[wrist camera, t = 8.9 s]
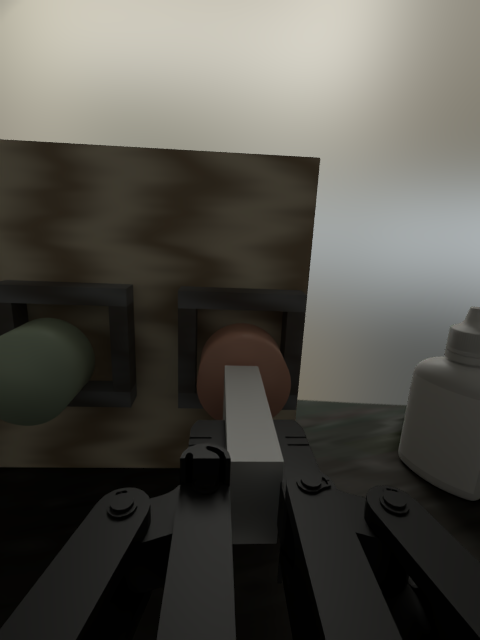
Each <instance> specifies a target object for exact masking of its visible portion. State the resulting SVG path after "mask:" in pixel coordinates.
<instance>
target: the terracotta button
mask: <svg viewBox="0 0 480 640" xmlns="http://www.w3.org/2000/svg"><path fill="white" fill-rule="evenodd" d="M225 365H230V366H258V367H259V371H260V375H261V378H262V382H263V386H264V389H265V393H266V397H267V401H268V404H269V408H270V412H271V415H272V418H273V417H275V416H276V415H277V414H278V413H279V412H280V411H281V410H282V408H283V407H284V405H285V404H286V402H287V400H288V397H289V394H290V389H291V377H290V373H289V370H288V367H287V365H286V363H285V361H284V358H283V356H282V354H281V352H280V350H279V347H278V345H277V343H276V342H275V340H274V339H273V337H272V336H271V335H270V334H269V333H268V332H266V331H265V330H264V329H262V328H260V327H258V326H255V325H252V324H246V323H236V324H231V325H228V326H225V327H223V328H221V329H219V330H217V331H216V332H215V333H214V334H213V335H212V336H211V337H210V338H209V339H208V340H207V342H206V343H205V345H204V347H203V350H202V354H201V359H200V365H199V371H198V377H197V393H198V397H199V400H200V403H201V404H202V406H203V408H204V409H205V411H206V412H207V413H208V414H209V415H210V416H211V417H212V418H214V419H215V420H223V400H224V371H225Z"/></svg>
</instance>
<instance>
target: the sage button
mask: <svg viewBox="0 0 480 640" xmlns="http://www.w3.org/2000/svg"><path fill="white" fill-rule="evenodd" d="M94 367H95V355H94V351H93V348H92V345H91V343H90V342H89V340H88V338H87V337H86V336H85V335H84V334H83V333H82V332H81V331H80V330H79V329H78V328H77V327H75V326H74V325H72V324H70V323H68V322H66V321H63V320H60V319H56V318H39V319H35V320H32V321H30V322H27V323H25V324H23V325H21V326H19V327H17V328H15V329H13V330H11V331H9V332H7V333H5V334H3V335H1V336H0V419H1V420H3V421H5V422H8V423H11V424H15V425H22V426H33V425H39V424H43V423H46V422H48V421H50V420H52V419H54V418H55V417H57V416H58V415H59V414H60V413H61V412H62V411H63V410H64V409H65V408H66V407H67V405H68V404H69V403H70V402H71V401H72V400H73V398H74V397H75V396H76V395H77V394H78V393H79V392H80V390H81V389H82V388H83V387H84V386H85V385H86V383H87V382H88V381H89V380H90V378H91V376H92V374H93V371H94Z"/></svg>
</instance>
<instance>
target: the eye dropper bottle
mask: <svg viewBox="0 0 480 640" xmlns="http://www.w3.org/2000/svg"><path fill="white" fill-rule="evenodd" d="M444 355H445V356H446V357H431V358H428V359H425V360H423V361H421V362H419V363H418V364H417V365H416V367H415V370H414V373H413V377H412V382H411V387H410V392H409V397H408V403H407V407H406V413H405V418H404V423H403V429H402V434H401V440H400V445H399V451H398V453H399V456H400V459H401V460H402V461H403V462H404V463H405V464H406V465H407V466H408V467H409V468H410V469H411V470H412V471H413V472H415V473H416V474H417V475H419V476H420V477H421V478H423V479H424V480H426V481H427V482H429V483H431V484H432V485H434V486H436V487H438V488H440V489H442V490H444V491H446V492H448V493H450V494H453V495H455V496H458V497H460V498H463V499H466V500H471V501H475V500H479V499H480V307H471V308H470V310H469V312H468V314H467V316H466V318H465V320H464V321H463V322H462V323H459V324H455V325H452V326H450V330H449V335H448V340H447V344H446V349H445V354H444Z"/></svg>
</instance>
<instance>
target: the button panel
mask: <svg viewBox="0 0 480 640" xmlns="http://www.w3.org/2000/svg"><path fill="white" fill-rule="evenodd" d="M319 165H320V158H313V157H297V156H296V157H295V156H279V155H261V154H244V153H227V152H210V151H193V150H175V149H158V148H140V147H122V146H106V145H87V144H70V143H53V142H36V141H18V140H1V139H0V336H1V335H3V334H5V333H7V332H9V331H11V330H13V329H15V328H17V327H19V326H21V325H23V324H25V323H27V322H30V321H32V320H35V319H39V318H56V319H60V320H63V321H66V322H68V323H70V324H72V325H74V326H75V327H77V328H78V329H79V330H80V331H81V332H82V333H83V334H84V335H85V336H86V337H87V338H88V340H89V342H90V343H91V345H92V348H93V351H94V355H95V367H94V371H93V374H92V376H91V378H90V380H89V381H88V382H87V383H86V385H85V386H84V387H83V388H82V389H81V390H80V392H79V393H78V394H77V395H76V396H75V397H74V398H73V400H72V401H71V402H70V403H69V404H68V405H67V407H66V408H65V409H64V410H63V411H62V412H61V413H60V414H59V415H58V416H57V417H55V418H54V419H52V420H50V421H48V422H46V423H43V424H39V425H33V426H22V425H15V424H11V423H8V422H5V421H3V420H1V419H0V467H59V468H180V457H181V455H182V453H183V452H184V451H185V450H186V449H188V445H189V439H190V431H191V427H192V426H193V425H194V424H195V423H196V421H197V420H215V419H214V418H212V417H211V416H210V415H209V414H208V413H207V412H206V411H205V409H204V408H203V406H202V404H201V403H200V400H199V397H198V393H197V377H198V371H199V365H200V359H201V354H202V350H203V347H204V345H205V343H206V342H207V340H208V339H209V338H210V337H211V336H212V335H213V334H214V333H215V332H216V331H217V330H219V329H221V328H223V327H225V326H228V325H231V324H236V323H246V324H252V325H255V326H258V327H260V328H262V329H264V330H265V331H266V332H268V333H269V334H270V335H271V336H272V337H273V339H274V340H275V342H276V343H277V345H278V347H279V350H280V352H281V354H282V356H283V358H284V361H285V363H286V365H287V367H288V370H289V373H290V377H291V389H290V394H289V397H288V400H287V402H286V404H285V405H284V407H283V408H282V410H281V411H280V412H279V413H278V414H277V415H276V416H275V417H273V418H272V419H273V420H295V418H296V407H297V396H298V386H299V375H300V365H301V354H302V343H303V333H304V323H305V312H306V302H307V291H308V281H309V270H310V260H311V249H312V238H313V227H314V217H315V207H316V196H317V185H318V175H319Z"/></svg>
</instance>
